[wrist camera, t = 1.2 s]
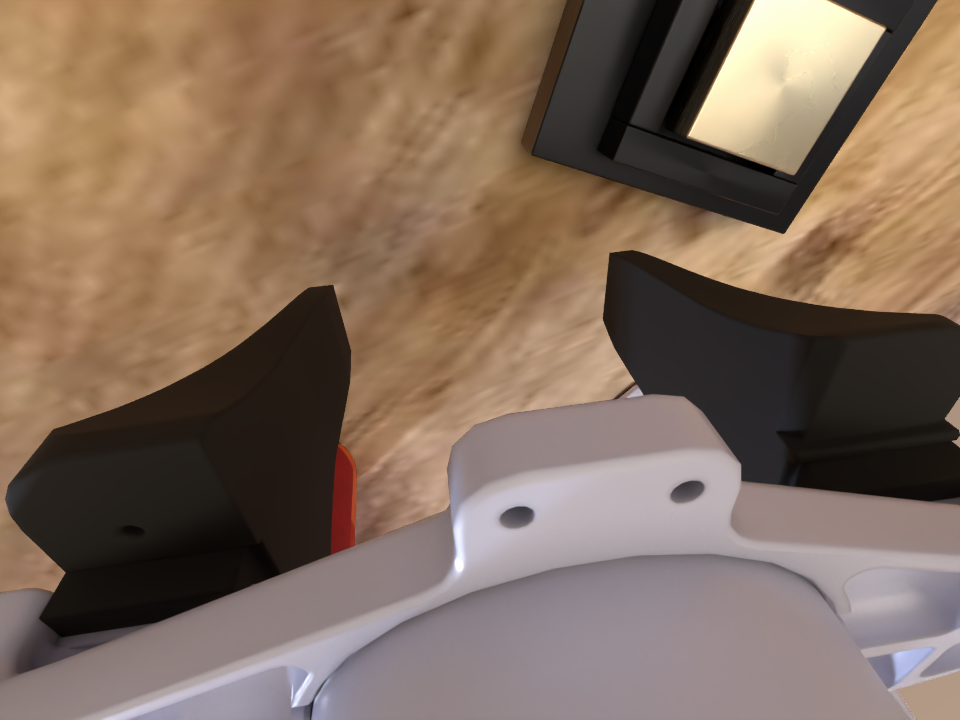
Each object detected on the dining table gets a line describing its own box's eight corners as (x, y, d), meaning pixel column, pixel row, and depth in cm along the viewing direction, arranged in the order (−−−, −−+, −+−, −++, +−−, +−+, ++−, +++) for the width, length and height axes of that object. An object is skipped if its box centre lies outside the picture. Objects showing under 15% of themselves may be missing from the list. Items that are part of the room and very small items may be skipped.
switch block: (894, -9, 18) (998, -16, 15) (755, 218, 23) (812, 250, 20) (616, -152, 15) (670, -199, 12) (520, 143, 20) (541, 167, 17)
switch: (845, 26, 16) (889, 26, 14) (765, 164, 18) (794, 176, 17) (734, -27, 15) (769, -32, 13) (663, 128, 17) (686, 138, 15)
